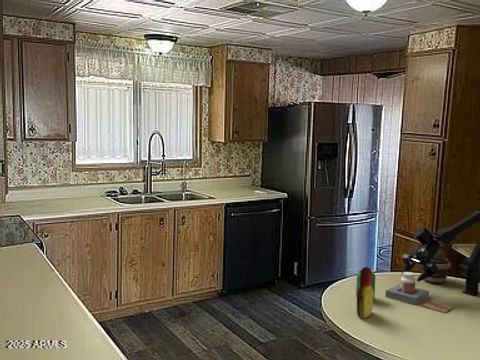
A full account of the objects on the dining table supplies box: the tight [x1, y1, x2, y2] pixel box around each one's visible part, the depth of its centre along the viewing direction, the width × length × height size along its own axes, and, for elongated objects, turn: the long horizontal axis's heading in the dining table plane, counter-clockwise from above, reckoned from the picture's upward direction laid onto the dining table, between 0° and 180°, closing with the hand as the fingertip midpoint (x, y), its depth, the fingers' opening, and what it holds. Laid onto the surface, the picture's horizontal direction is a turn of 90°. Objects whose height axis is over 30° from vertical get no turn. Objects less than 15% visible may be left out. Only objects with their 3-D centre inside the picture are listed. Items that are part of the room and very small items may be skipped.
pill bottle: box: [400, 271, 416, 295], centre depth 220 cm, size 6×6×11 cm
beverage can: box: [355, 270, 376, 300], centre depth 217 cm, size 8×8×12 cm
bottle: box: [356, 266, 374, 319], centre depth 197 cm, size 12×6×20 cm, turn 154°
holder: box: [385, 283, 430, 306], centre depth 221 cm, size 14×14×3 cm
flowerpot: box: [420, 249, 452, 285], centre depth 245 cm, size 14×15×20 cm
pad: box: [421, 299, 456, 314], centre depth 209 cm, size 10×10×1 cm
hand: (409, 278), depth 221 cm, fingers open, 9 cm apart
